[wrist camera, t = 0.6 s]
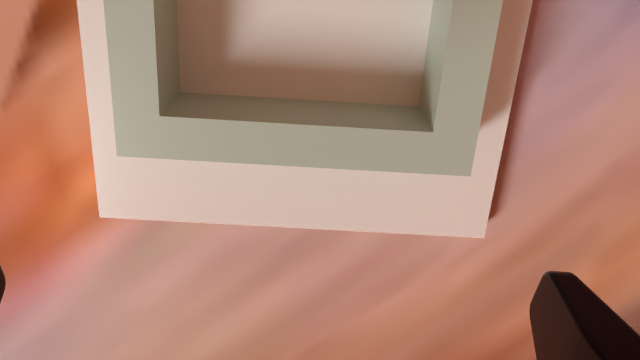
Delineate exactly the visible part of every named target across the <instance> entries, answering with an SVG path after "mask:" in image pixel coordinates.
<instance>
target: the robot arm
mask: <svg viewBox="0 0 640 360" xmlns="http://www.w3.org/2000/svg"><path fill="white" fill-rule="evenodd" d="M4 290H5V276H4V273H3V271H2V268H1V266H0V302H1V300H2V297H3V294H4ZM530 321H531V327H532V334H533V340H534V346H535V352H536V358H537V360H640V335H639V334H638V333H637V332H635V331H634V330H633V329H632V328H631V327H630V326H629V325H628V324H627V323H626V322H625V321H624V320H623V319H622V318H620V317H619V316H618V315H617V314H616V313H615V312H614V311H613V310H612V309H611V308H610V307H609V306H608V305H607V304H606V303H604V302H603V301H602V300H601V299H600V298H599V297H598V296H597V295H596V294H595V293H594V292H593V291H592V290H591V289H589V288H588V287H587V286H586V285H585V284H584V283H583V282H582V281H581V280H580V279H579V278H578V277H577V276H575V275H574V274H572V273H570V272H558V271H548V272H546V273H545V274H544V275H543V276H542V278H541V281H540V283H539V285H538V287H537V290H536V292H535V294H534V296H533V299H532V301H531V304H530Z"/></svg>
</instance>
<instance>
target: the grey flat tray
mask: <svg viewBox="0 0 640 360" xmlns="http://www.w3.org/2000/svg"><path fill="white" fill-rule="evenodd" d="M532 2H533V0H77V8H78V17H79V27H80V36H81V46H82V55H83V65H84V74H85V84H86V94H87V103H88V113H89V122H90V132H91V141H92V151H93V160H94V170H95V179H96V189H97V198H98V208H99V217H103V218H121V219H139V220H158V221H176V222H195V223H213V224H232V225H250V226H269V227H287V228H305V229H324V230H342V231H361V232H379V233H398V234H416V235H435V236H453V237H471V238H484V237H485V232H486V227H487V222H488V217H489V212H490V207H491V202H492V198H493V193H494V188H495V183H496V178H497V173H498V168H499V163H500V158H501V154H502V149H503V144H504V139H505V134H506V129H507V124H508V119H509V115H510V110H511V105H512V100H513V95H514V90H515V85H516V80H517V75H518V71H519V66H520V61H521V56H522V51H523V46H524V41H525V36H526V32H527V27H528V22H529V17H530V12H531V7H532Z"/></svg>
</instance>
